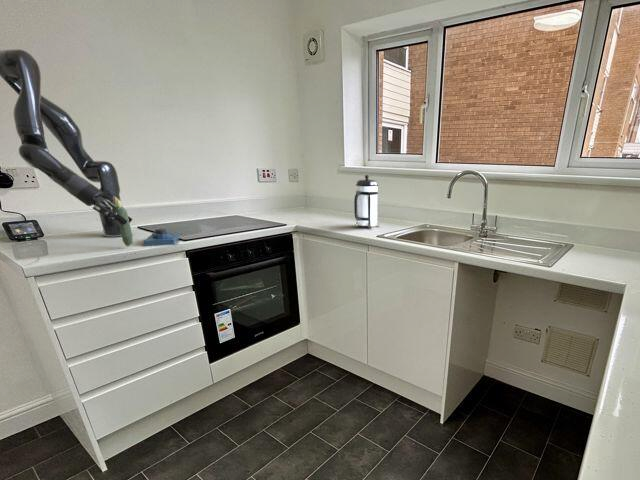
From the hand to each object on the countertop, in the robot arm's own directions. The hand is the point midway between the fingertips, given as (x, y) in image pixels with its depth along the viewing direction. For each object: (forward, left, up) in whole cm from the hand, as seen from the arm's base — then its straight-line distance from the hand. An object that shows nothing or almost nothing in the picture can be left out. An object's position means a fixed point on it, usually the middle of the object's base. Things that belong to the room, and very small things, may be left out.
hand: (128, 222), depth 141 cm
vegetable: (0, -2, -10) cm, 10 cm away
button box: (-11, +8, -11) cm, 18 cm away
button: (-11, +8, -7) cm, 16 cm away
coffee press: (-28, +110, -11) cm, 114 cm away
